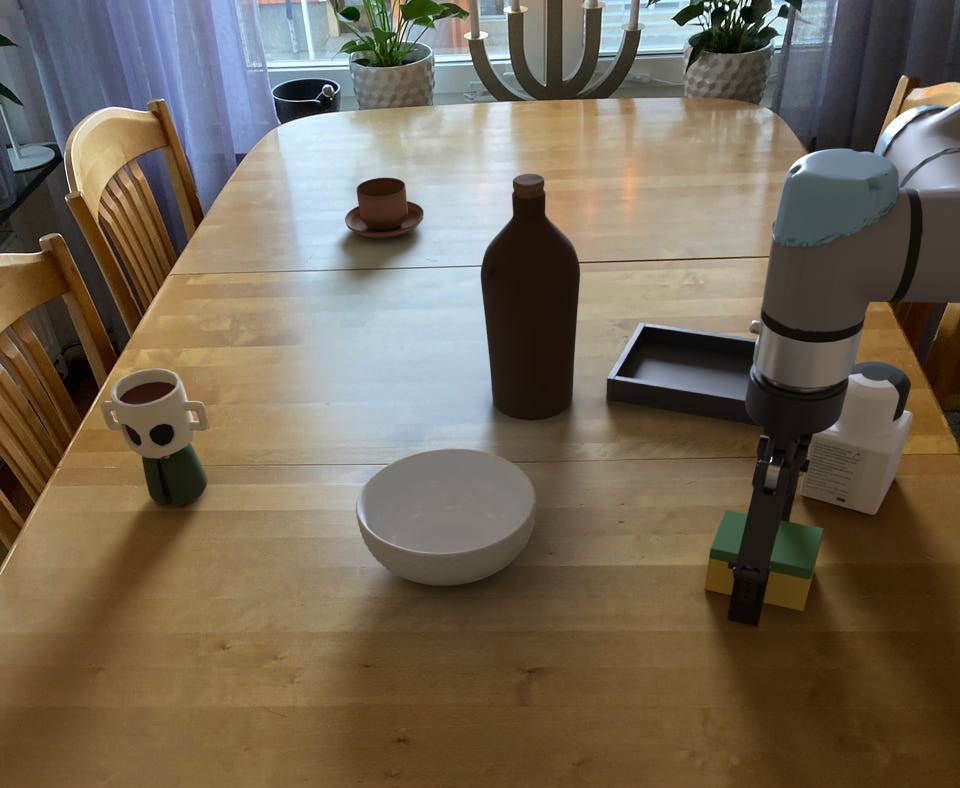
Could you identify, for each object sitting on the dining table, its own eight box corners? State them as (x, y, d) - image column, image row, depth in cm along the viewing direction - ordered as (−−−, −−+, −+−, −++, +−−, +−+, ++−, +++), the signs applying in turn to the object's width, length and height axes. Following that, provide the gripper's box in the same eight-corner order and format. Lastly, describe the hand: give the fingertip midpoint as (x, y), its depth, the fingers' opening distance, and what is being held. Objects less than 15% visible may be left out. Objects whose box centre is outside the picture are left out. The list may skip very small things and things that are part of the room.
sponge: (814, 569, 94) (824, 528, 91) (803, 611, 90) (813, 570, 87) (719, 549, 97) (725, 508, 93) (704, 589, 93) (710, 548, 90)
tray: (850, 374, 117) (855, 353, 115) (832, 437, 109) (837, 415, 107) (638, 342, 125) (639, 322, 123) (605, 399, 116) (606, 378, 114)
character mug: (121, 512, 106) (79, 406, 97) (142, 472, 111) (105, 367, 102) (220, 513, 105) (188, 406, 96) (237, 472, 110) (208, 367, 101)
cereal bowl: (559, 520, 101) (560, 463, 96) (500, 630, 91) (497, 572, 86) (408, 489, 106) (401, 432, 101) (335, 589, 96) (323, 532, 91)
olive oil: (557, 430, 112) (558, 206, 95) (472, 412, 116) (457, 193, 98) (591, 383, 119) (597, 165, 101) (509, 367, 123) (501, 154, 105)
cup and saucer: (333, 226, 155) (326, 185, 150) (399, 205, 159) (395, 165, 154) (370, 252, 147) (364, 210, 143) (439, 230, 152) (436, 188, 147)
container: (821, 456, 107) (847, 345, 97) (895, 475, 103) (929, 363, 94) (798, 496, 102) (822, 383, 93) (874, 517, 99) (907, 403, 90)
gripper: (781, 290, 87) (746, 487, 102) (715, 448, 71) (685, 653, 86) (871, 302, 85) (821, 502, 100) (824, 468, 69) (773, 675, 84)
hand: (758, 572), depth 93 cm, fingers open, 13 cm apart
